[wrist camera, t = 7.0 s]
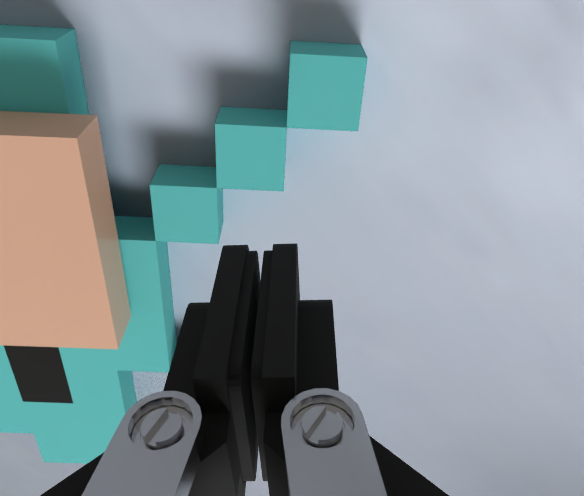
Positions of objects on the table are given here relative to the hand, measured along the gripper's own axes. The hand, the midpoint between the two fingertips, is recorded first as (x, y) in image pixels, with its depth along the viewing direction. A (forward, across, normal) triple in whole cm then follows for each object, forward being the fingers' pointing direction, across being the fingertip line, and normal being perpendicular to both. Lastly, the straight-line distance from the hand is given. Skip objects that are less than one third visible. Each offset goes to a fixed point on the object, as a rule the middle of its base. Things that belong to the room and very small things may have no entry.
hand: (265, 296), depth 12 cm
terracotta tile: (+5, +9, +5) cm, 12 cm away
